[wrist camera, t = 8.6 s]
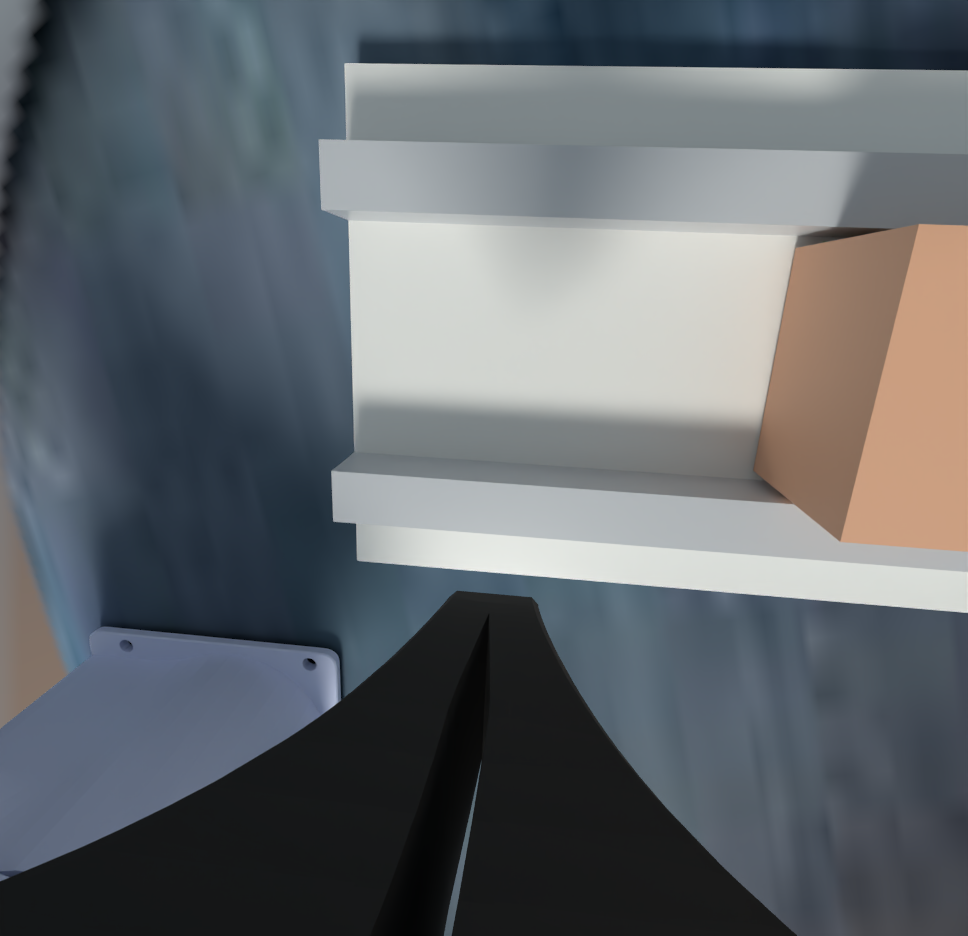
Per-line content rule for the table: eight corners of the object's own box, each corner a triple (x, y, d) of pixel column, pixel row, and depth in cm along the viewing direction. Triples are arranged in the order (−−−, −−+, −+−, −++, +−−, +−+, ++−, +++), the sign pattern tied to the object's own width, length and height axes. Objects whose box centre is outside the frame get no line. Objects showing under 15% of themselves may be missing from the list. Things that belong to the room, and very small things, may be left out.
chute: (366, 548, 19) (323, 609, 16) (356, 77, 15) (296, 5, 12) (985, 599, 18) (1104, 681, 14) (1159, 88, 14) (1394, 8, 10)
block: (753, 470, 16) (840, 541, 12) (795, 248, 15) (919, 224, 10) (937, 482, 16) (1105, 562, 11) (1003, 256, 14) (1237, 234, 9)
